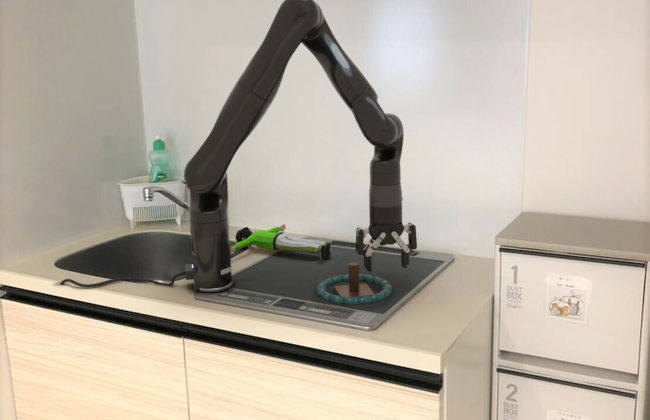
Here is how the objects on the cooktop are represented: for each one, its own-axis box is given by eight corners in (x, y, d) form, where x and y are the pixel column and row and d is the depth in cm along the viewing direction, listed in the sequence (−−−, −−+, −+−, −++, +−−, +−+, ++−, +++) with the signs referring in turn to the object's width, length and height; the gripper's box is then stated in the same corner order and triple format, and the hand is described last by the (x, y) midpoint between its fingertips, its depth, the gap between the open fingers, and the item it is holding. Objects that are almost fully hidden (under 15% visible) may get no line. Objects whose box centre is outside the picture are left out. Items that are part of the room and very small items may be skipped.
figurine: (351, 248, 198) (266, 234, 213) (351, 227, 197) (266, 215, 212) (298, 277, 175) (207, 260, 190) (297, 254, 173) (205, 238, 188)
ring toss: (341, 302, 157) (340, 270, 155) (333, 290, 164) (333, 260, 162) (375, 299, 158) (375, 267, 156) (366, 287, 166) (365, 257, 164)
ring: (324, 313, 151) (324, 302, 150) (310, 285, 168) (309, 276, 167) (402, 304, 154) (402, 294, 154) (380, 279, 171) (380, 269, 171)
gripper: (409, 195, 162) (410, 261, 166) (351, 200, 160) (353, 267, 164) (420, 202, 155) (420, 270, 159) (359, 208, 153) (361, 277, 157)
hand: (386, 268), depth 161 cm, fingers open, 8 cm apart
